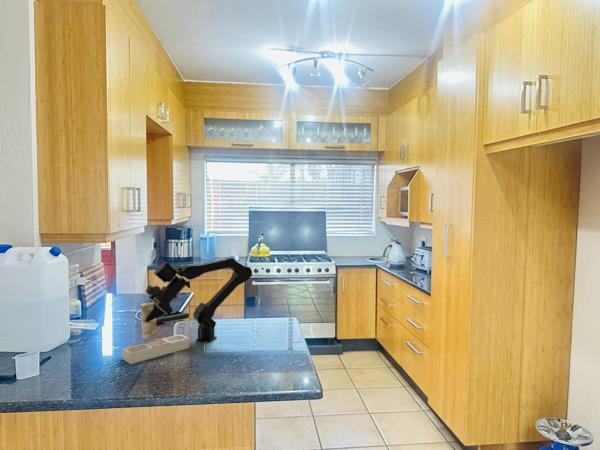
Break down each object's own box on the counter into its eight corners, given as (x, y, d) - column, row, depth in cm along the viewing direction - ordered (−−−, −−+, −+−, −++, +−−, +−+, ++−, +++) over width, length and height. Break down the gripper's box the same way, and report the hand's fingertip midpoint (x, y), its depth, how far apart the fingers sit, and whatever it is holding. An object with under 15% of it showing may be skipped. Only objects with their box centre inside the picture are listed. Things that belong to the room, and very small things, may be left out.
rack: (180, 343, 168) (180, 333, 168) (189, 347, 163) (189, 337, 163) (122, 358, 151) (122, 347, 151) (130, 364, 146) (130, 352, 146)
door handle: (140, 315, 203) (152, 320, 191) (177, 308, 217) (191, 312, 205) (140, 321, 203) (153, 327, 191) (177, 314, 217) (191, 319, 205)
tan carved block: (154, 333, 164) (153, 302, 163) (156, 336, 160) (155, 304, 159) (141, 335, 161) (140, 303, 160) (143, 338, 158) (142, 306, 157)
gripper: (153, 274, 169) (125, 303, 164) (163, 281, 153) (133, 313, 148) (172, 290, 174) (146, 318, 169) (184, 298, 158) (155, 330, 153)
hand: (145, 320), depth 159 cm, fingers closed on tan carved block, 4 cm apart
